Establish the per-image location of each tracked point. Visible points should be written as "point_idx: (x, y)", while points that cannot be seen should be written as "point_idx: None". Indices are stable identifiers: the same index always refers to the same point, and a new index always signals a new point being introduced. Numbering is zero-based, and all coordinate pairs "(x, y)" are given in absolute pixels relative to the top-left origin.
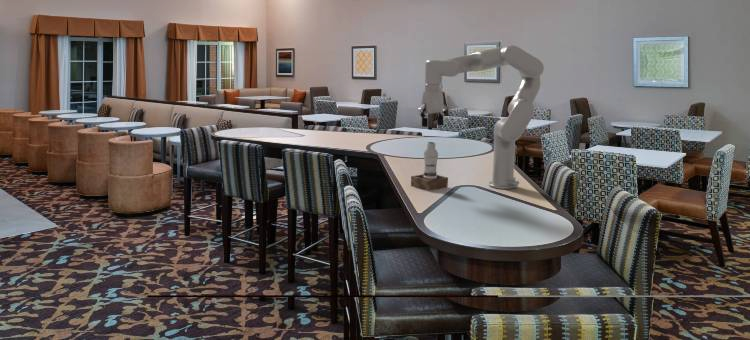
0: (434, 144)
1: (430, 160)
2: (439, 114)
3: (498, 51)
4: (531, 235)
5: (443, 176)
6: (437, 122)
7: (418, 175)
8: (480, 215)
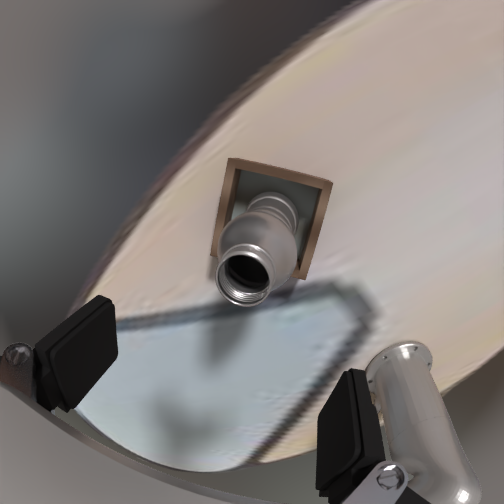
0: (244, 302)
1: (233, 258)
2: (359, 493)
3: None
4: (137, 444)
5: (311, 258)
6: (347, 388)
7: (260, 171)
8: (145, 401)
